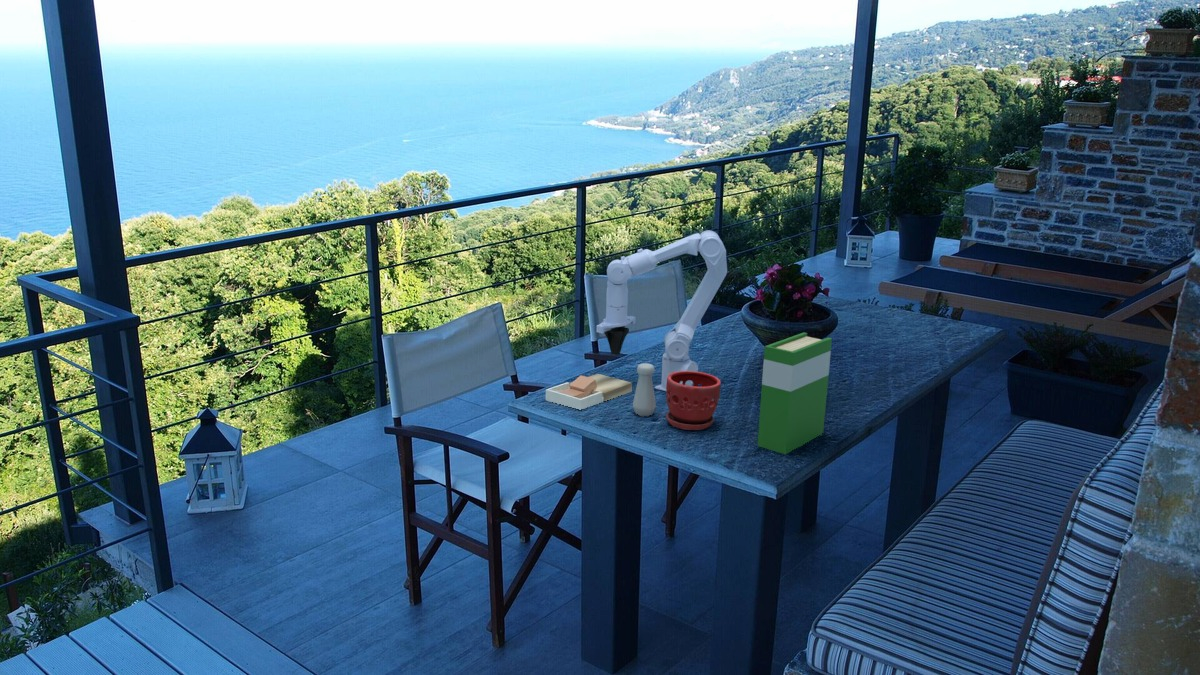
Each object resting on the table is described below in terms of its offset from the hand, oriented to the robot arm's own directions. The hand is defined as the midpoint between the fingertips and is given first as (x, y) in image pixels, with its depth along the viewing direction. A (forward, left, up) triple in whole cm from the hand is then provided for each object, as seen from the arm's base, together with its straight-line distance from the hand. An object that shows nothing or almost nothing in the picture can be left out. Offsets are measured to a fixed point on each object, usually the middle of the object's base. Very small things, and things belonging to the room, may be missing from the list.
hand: (615, 353), depth 255 cm
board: (0, +6, -9) cm, 11 cm away
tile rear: (0, +13, -7) cm, 15 cm away
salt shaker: (-19, +12, -10) cm, 24 cm away
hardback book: (-55, +3, -10) cm, 56 cm away
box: (0, +17, -9) cm, 19 cm away
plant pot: (-32, +10, -10) cm, 35 cm away
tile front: (0, +18, -9) cm, 20 cm away
